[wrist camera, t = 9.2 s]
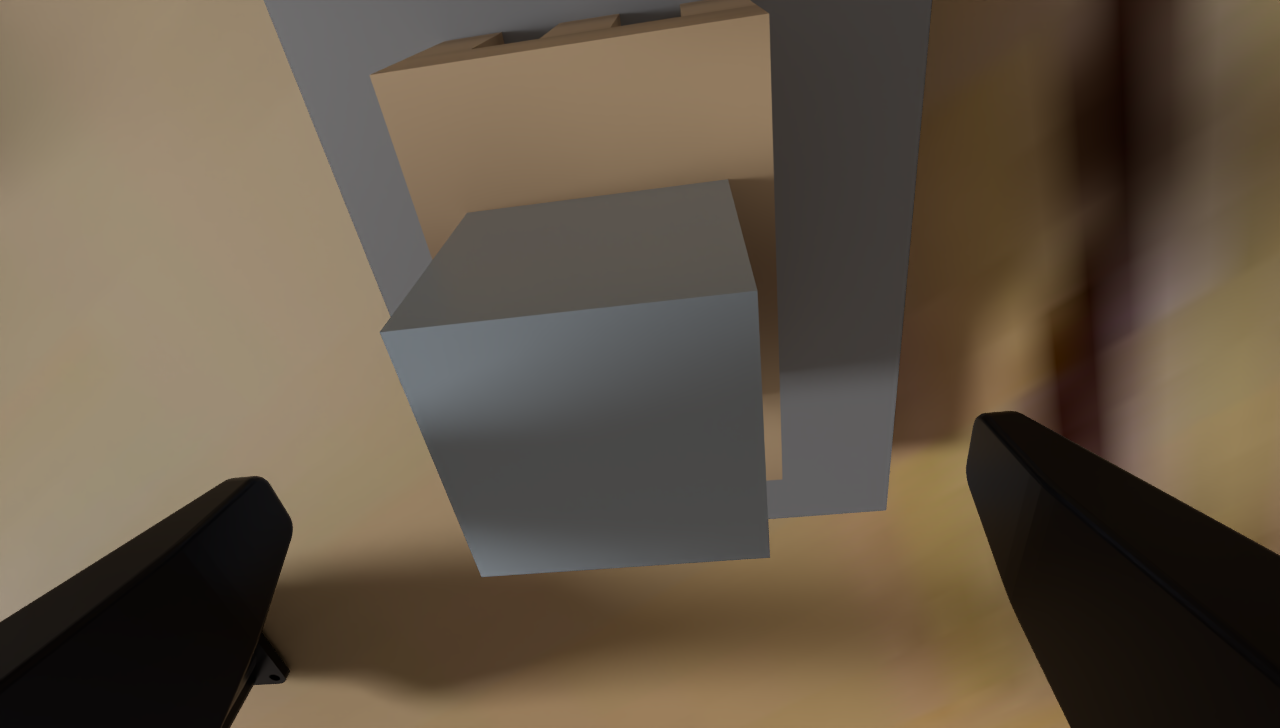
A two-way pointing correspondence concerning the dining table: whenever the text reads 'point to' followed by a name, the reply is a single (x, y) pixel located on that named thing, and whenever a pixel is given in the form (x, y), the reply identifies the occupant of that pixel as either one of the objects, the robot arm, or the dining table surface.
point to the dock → (803, 191)
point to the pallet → (599, 130)
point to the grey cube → (593, 381)
